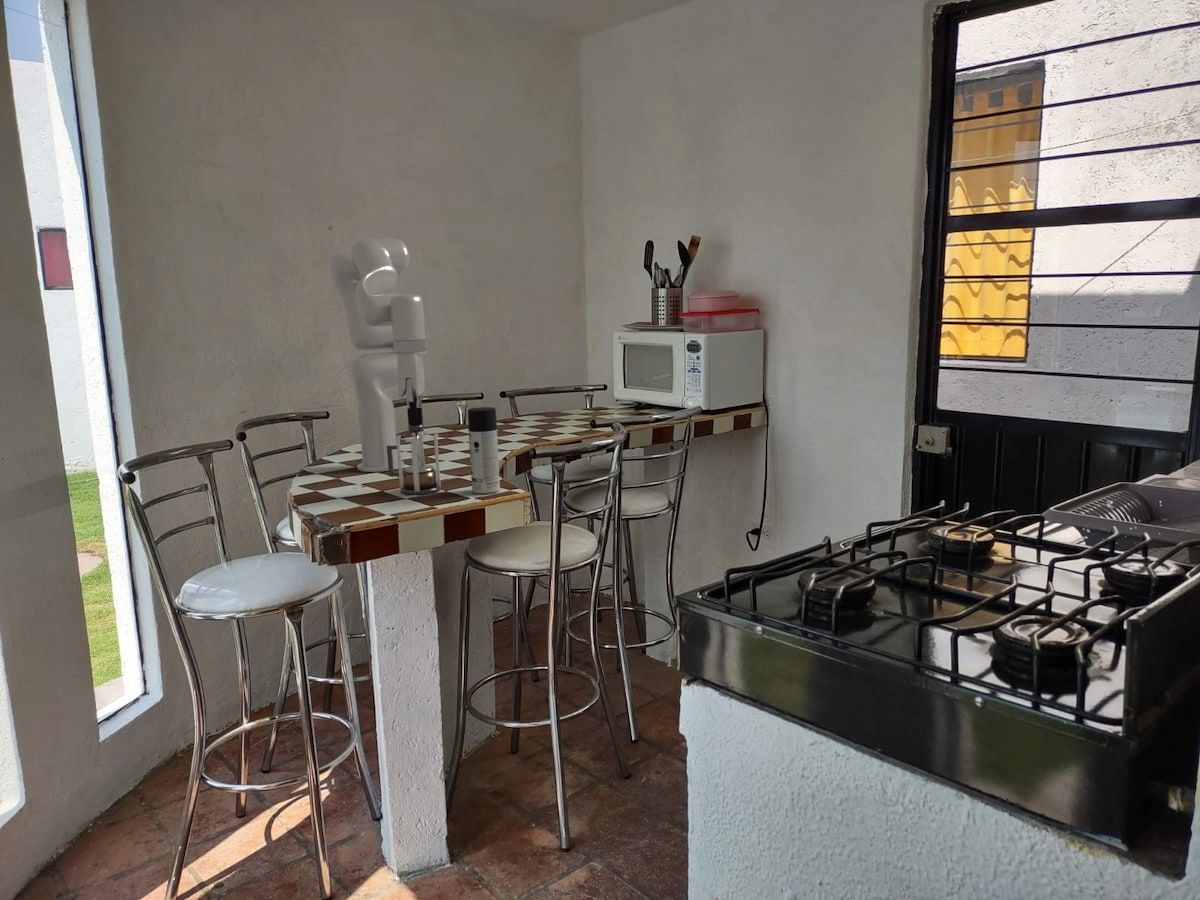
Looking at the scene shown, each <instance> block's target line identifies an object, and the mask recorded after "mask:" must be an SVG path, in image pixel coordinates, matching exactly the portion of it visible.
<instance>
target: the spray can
mask: <svg viewBox="0 0 1200 900" xmlns="http://www.w3.org/2000/svg"><path fill="white" fill-rule="evenodd" d="M467 418H468V421H467V422H468V424H467V425H468V440H469V441H468V442H469V459H470V478H471V490H472V493H473V494H477V495H489V494H494V493H498V492H499V491H500V488H501V485H500V464H499V446H498V444H499V443H498V427H497V426H498V425H497V423H498V421H497V411H496V407H487V406H484V407H482V406H481V407H472V408H469V409H468V410H467Z"/></svg>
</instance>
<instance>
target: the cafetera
mask: <svg viewBox="0 0 1200 900" xmlns="http://www.w3.org/2000/svg"><path fill="white" fill-rule="evenodd" d="M411 436H412V437H413V436H414V437H415V432H411ZM423 436H428V432H427V431H426V432H425V431H422V432H418V439H415V438H405V443H410V447H411V448H410V449H411V460H412V461H411V462H412V463H411V464H412V466H413V473H405V472H404V471H403V467H402V461H403V460H402V452H401V451H402V450H401V438H402V436H401V435H399V434H398V435H396V437H395V440H396V443H397V445H394V446H392V445H388V446H387V456H388V468H389V471H388V476H389V477H399V488H400V489H399V490H400V494H401V495H403V494H404V495H403V496H409V495H419V496H427V495H433V494H436V493H438V491H439V492H440V491H441V490H442V488H441V485H442V484H441V472H440V471H441V470H440V457H439V455H440V454H439V443H438V437H439V433H434V435H433V436H432V439H433V444H434V457H435V468H434V470H433V471H430V472H425V473H419V469H418V456H417V443H416V442H419V454H420V465H426V463H425V452H424V450H425V449H424V448H425V447H424V437H423ZM393 449H397V455H398V468H399V469H398V471H395V470H394V465H393V453H392V450H393ZM401 460H402V461H401Z"/></svg>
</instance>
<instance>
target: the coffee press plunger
mask: <svg viewBox="0 0 1200 900" xmlns="http://www.w3.org/2000/svg"><path fill="white" fill-rule="evenodd" d="M407 428H408V432H409V433H415V436H414V439H418V433H421V432H425V431H424V429H425V428H424V423H423V424H421V425H409V424H407ZM416 443H417V456H418V469H419V473H425V472H430V471H433V470H434V469H435V466H434V465H432V464H425V465H420V454H419V442H416ZM403 472H405V473H413V465H409V466H405V467H404V468H403Z"/></svg>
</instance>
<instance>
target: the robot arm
mask: <svg viewBox="0 0 1200 900" xmlns="http://www.w3.org/2000/svg"><path fill="white" fill-rule="evenodd" d="M409 264H410V253H409V248H408V247H407V246H406V244H405V242H403V240H401V239H398V238H364V239H360V240H359V241H357V242H355V243H354V244H353V246H352V247H351V249H345V250H341V251H340V250H339V251H337V252H335V253H334V254H333V255H331V258H330V274H331V277H332V282H333V284H334V286H335V289H336V291H337V293H338V295H339V297H340V299H341V301H342V303H343V306H344V311H345V315H346V316H345V317H346V322H347V326H348V332H349V338H350V341H351V344H352V345H353V347H354V348H355V349H356V350H358V351H366V352H367V351H382V350H391V351H392V352H391V351H389V352H372V353H365V354H360V355H358V356H355V358H354V359H353V360H352V361H351V362H350V363H351V365H350V373H351V377H352V380H353V385H354V389H355V394H356V403H357V413H358V424H359V433H360V434H359V436H360V445H361V446H360V447H361V459H362V462H360V463H358V464H357V466H356V468H357V470H358V471H359V472H365V473H366V472H367V473H368V472H369V473H376V472H378V473H380V472H389V468H388V456H387V446H388V445H392V446H394V445H397V443H396V440H395V437H397V433H396V432H397V431H396V418H395V417H396V416H395V408H394V407H395V406H394V403H393V400H392V398H390V397H389V395H387V394H386V392H385V391H384V390H383V389H387V388H395V387H397V393H398V396H399V397H400V398H403V397H404V396H406V397H405V398H406V405H407V421H408V424H407V425H421V424H423V425H424V419H423V418H424V417H423V408H422V394H423V393H425V386H426V385H425V383H426V382H425V369H424V359H423V355H425V354H427V352H428V351H427V341H426V328H425V314H424V303H423V302H424V301H423V298H422V296H421V295H419V294H411V293H397V294H395V293H391V294H390V293H389V294H388V292H391V290H393V289H394V287H395V286H396V284H397V282H398V277H400V275H402V274H403V273H404V272H405V271H406V270H407V269H408V267H409ZM392 453H393V465H394V471H395V470H399V468H398V455H397V449H393V450H392ZM401 461H402V468H403V467H404V466H405V462H404V461H403V460H402V459H401Z"/></svg>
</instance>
